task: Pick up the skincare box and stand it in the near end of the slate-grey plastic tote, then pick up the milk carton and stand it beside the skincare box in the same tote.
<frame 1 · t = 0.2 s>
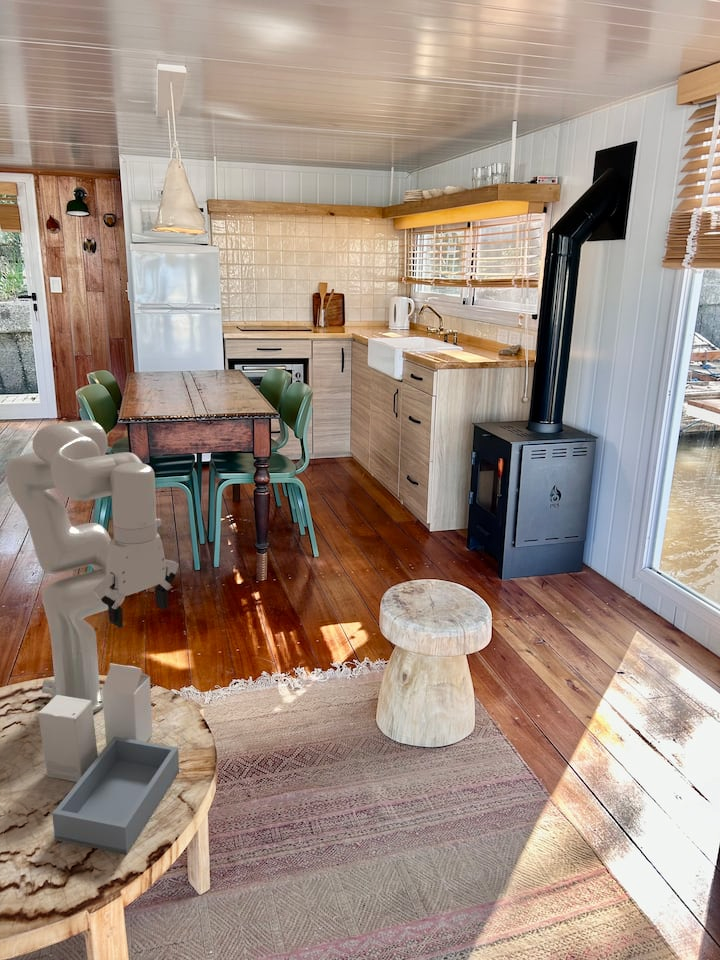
hand: (139, 615, 138), 37 cm above the table, tool pointing down, fingers open, 9 cm apart
skincare box: (72, 771, 150), on the table
tote: (120, 803, 142), on the table
milk carton: (129, 743, 159), on the table
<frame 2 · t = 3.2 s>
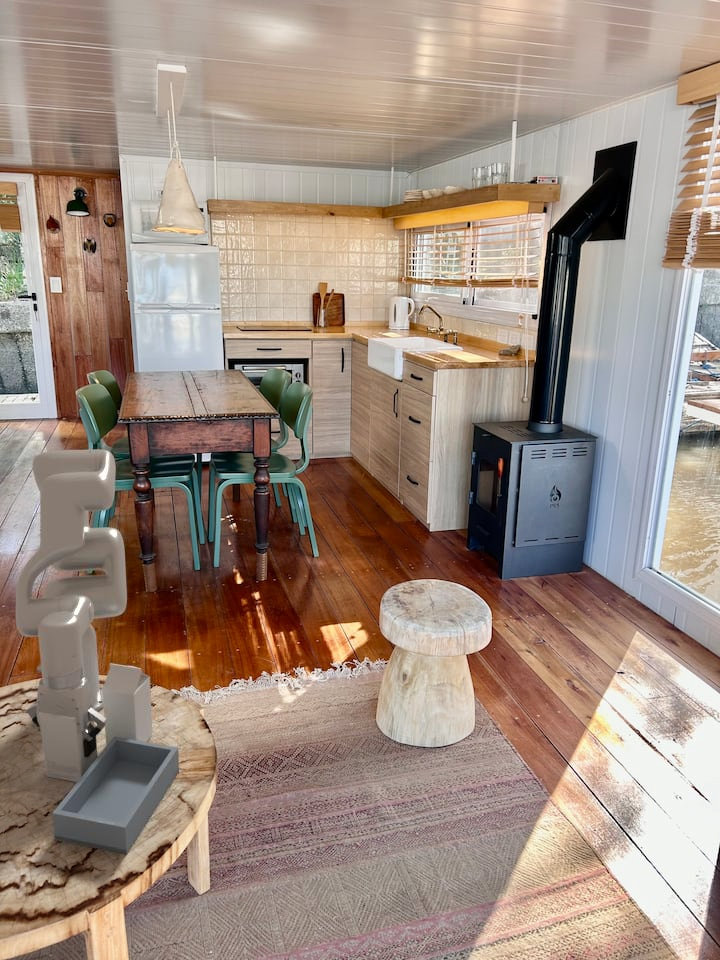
hand: (69, 748, 148), 5 cm above the table, tool pointing down, fingers closed on skincare box, 8 cm apart
skincare box: (71, 771, 150), on the table, touching gripper
everything else where it was.
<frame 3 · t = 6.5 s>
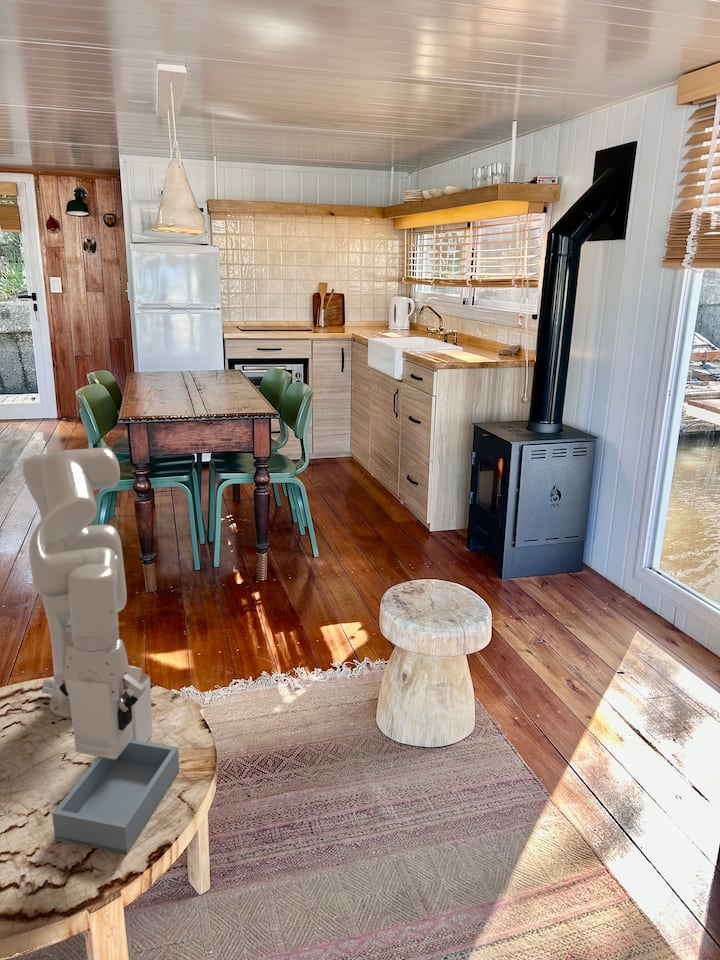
hand: (101, 721, 131), 22 cm above the table, tool pointing down, fingers closed on skincare box, 8 cm apart
skincare box: (103, 747, 133), point 16 cm above the table, touching gripper
everything else where it was.
when the fingers open (8 cm above the table, at t = 9.7 s): skincare box drops 1 cm, resting on tote.
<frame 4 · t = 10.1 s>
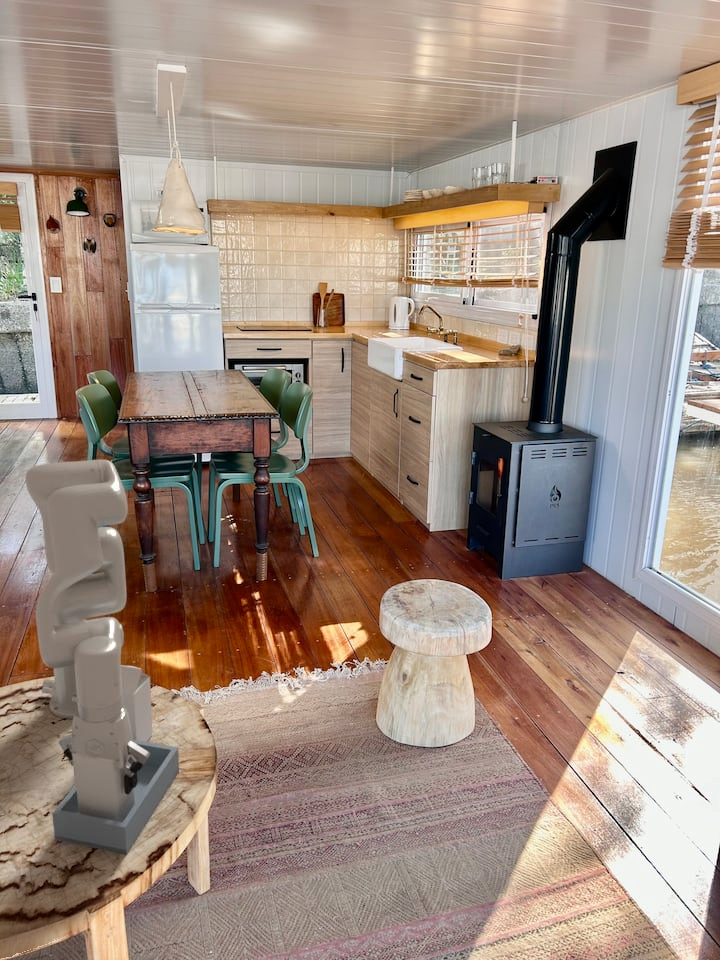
hand: (106, 784, 135), 8 cm above the table, tool pointing down, fingers open, 9 cm apart
skincare box: (106, 815, 138), point 1 cm above the table, touching gripper, tote
everything else where it was.
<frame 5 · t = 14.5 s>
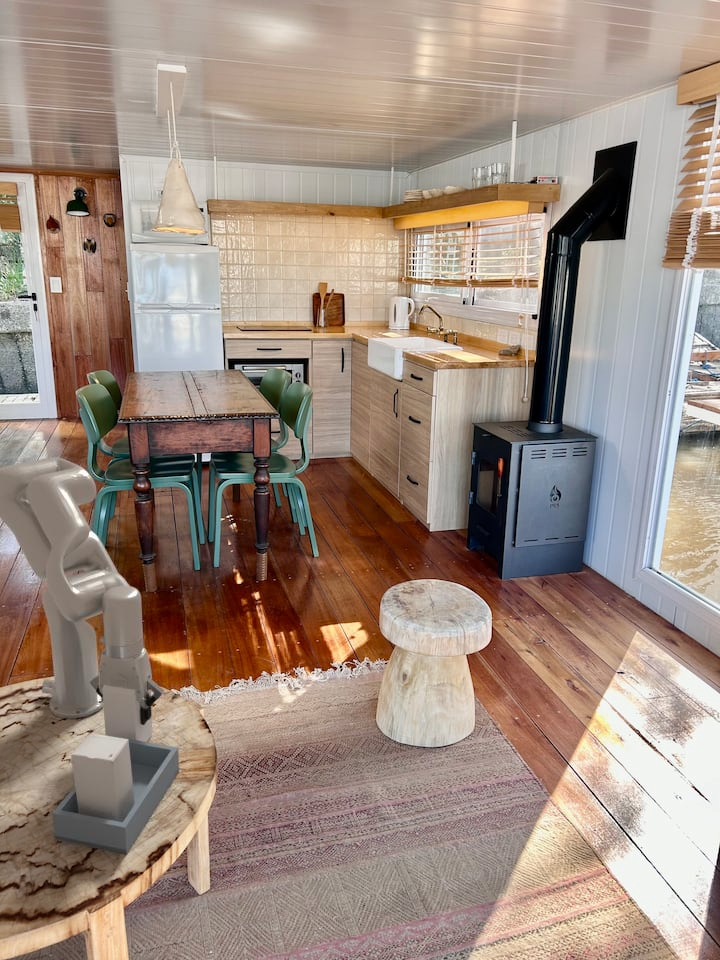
hand: (128, 717, 157), 6 cm above the table, tool pointing down, fingers closed on milk carton, 7 cm apart
skincare box: (106, 816, 138), point 1 cm above the table, touching tote
milk carton: (129, 743, 159), on the table, touching gripper
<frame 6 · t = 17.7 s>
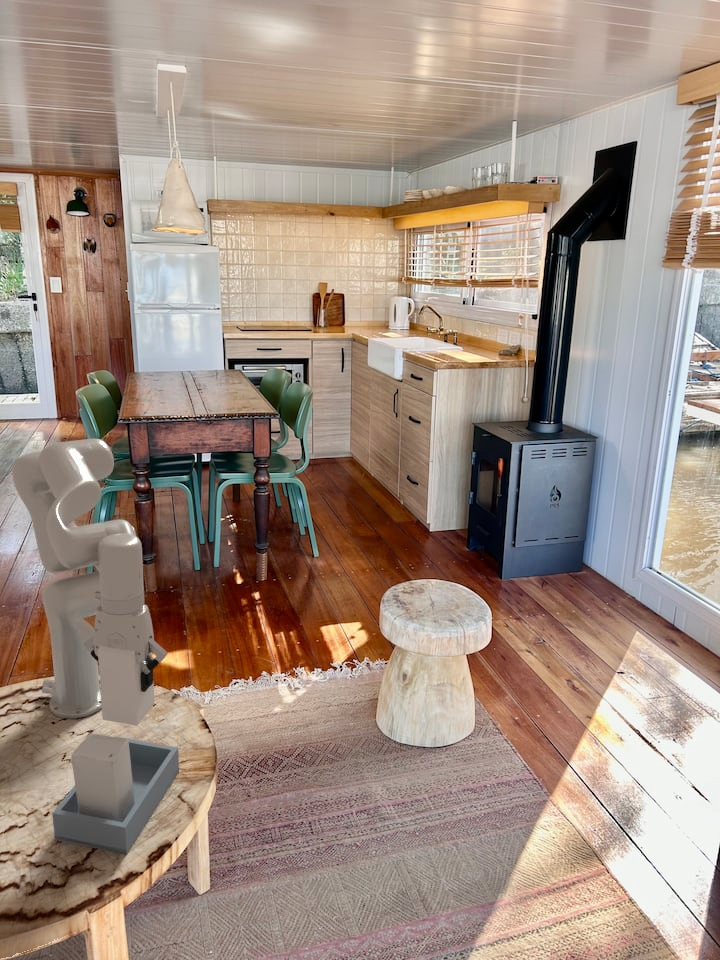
hand: (127, 684, 139), 24 cm above the table, tool pointing down, fingers closed on milk carton, 7 cm apart
milk carton: (129, 713, 141), point 17 cm above the table, touching gripper
everything else where it was.
when the fingers open (9 cm above the table, at t = 21.0 s): milk carton drops 1 cm, resting on tote.
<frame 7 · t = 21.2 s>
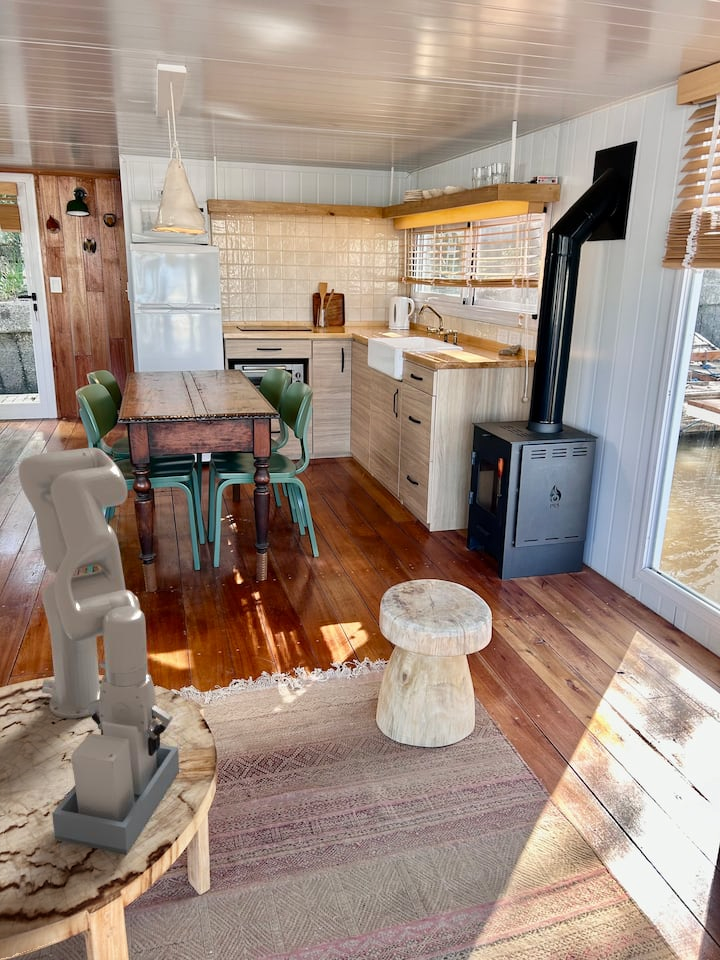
hand: (131, 747, 144), 9 cm above the table, tool pointing down, fingers open, 9 cm apart
milk carton: (132, 781, 146), point 1 cm above the table, touching tote
everything else where it was.
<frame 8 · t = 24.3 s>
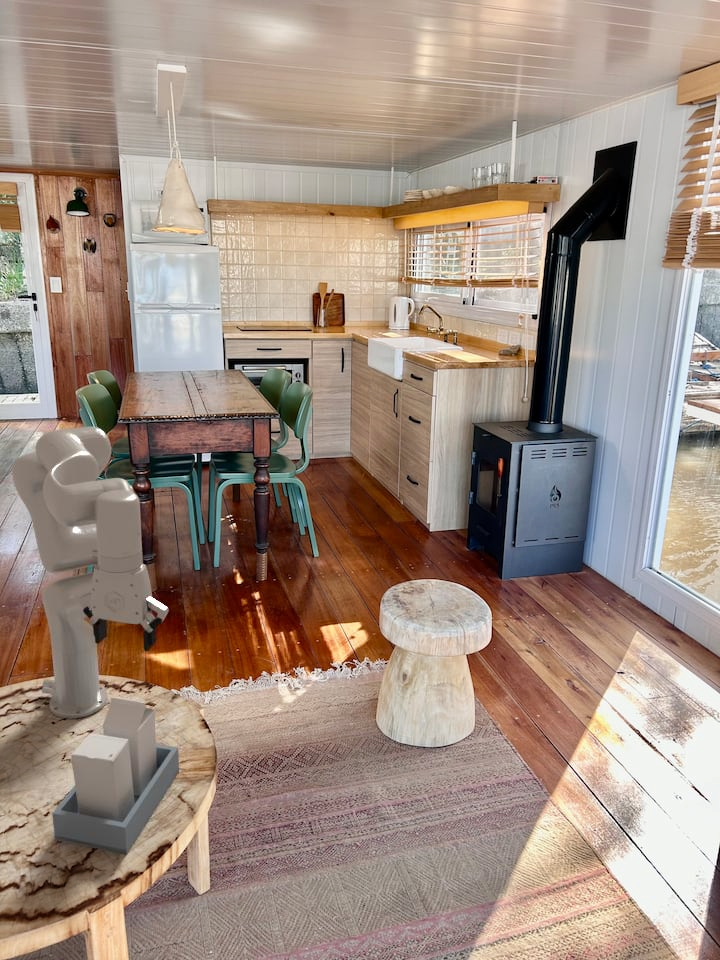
hand: (125, 643, 137), 32 cm above the table, tool pointing down, fingers open, 9 cm apart
nothing on the table moved.
at the end: skincare box inside the target area on the tote (4.3 cm from its centre), point 0.8 cm above the tote's base; milk carton inside the target area on the tote (5.1 cm from its centre), point 0.8 cm above the tote's base; the gripper is holding nothing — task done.
